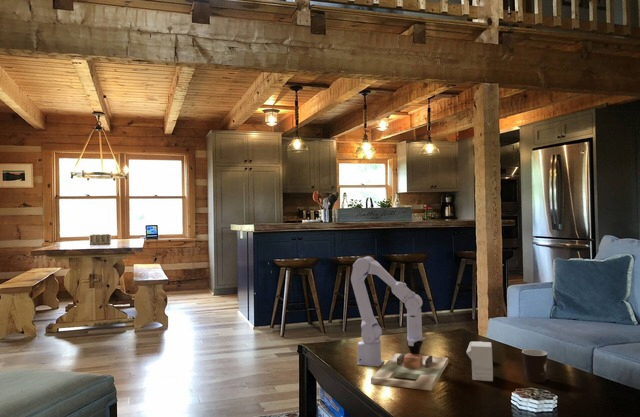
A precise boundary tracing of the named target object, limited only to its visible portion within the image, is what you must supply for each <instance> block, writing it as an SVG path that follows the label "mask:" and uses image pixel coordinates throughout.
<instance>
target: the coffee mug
mask: <svg viewBox="0 0 640 417" xmlns="http://www.w3.org/2000/svg"><path fill="white" fill-rule="evenodd" d="M521 355H522V363H523V368H524V375H525V376H524V377H525V380H526V381H527V382H530V383H536V384H542V383H545V381H546V373H547V362H548V351H545V350H540V349H531V348H530V349H529V348H528V349H527V348H526V349H523V350H521Z"/></svg>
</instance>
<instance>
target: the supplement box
mask: <svg viewBox="0 0 640 417" xmlns="http://www.w3.org/2000/svg"><path fill="white" fill-rule="evenodd" d="M471 342H472V344H471V355H472V360H471V374H472V375H471V376H472V377H471V378H472V381H482V382H485V381H486V382H494V366H493V346H492V342H491V341H490V342H489V341H482V342H478V341H471Z"/></svg>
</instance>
